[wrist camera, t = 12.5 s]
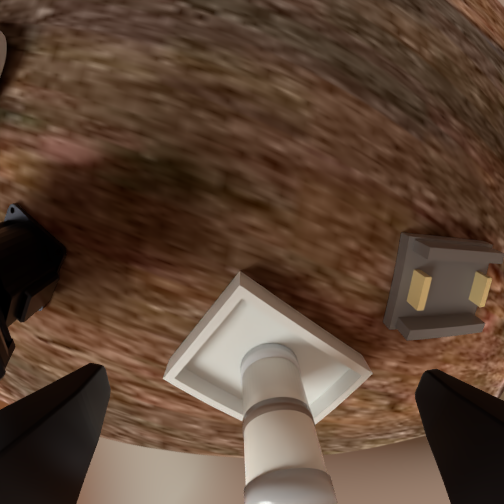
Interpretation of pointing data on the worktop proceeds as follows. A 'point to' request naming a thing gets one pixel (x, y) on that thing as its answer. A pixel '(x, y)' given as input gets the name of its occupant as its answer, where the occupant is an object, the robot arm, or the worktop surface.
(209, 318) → the parts tray
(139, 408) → the worktop surface
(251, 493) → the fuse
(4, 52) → the toy
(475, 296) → the fuse holder
